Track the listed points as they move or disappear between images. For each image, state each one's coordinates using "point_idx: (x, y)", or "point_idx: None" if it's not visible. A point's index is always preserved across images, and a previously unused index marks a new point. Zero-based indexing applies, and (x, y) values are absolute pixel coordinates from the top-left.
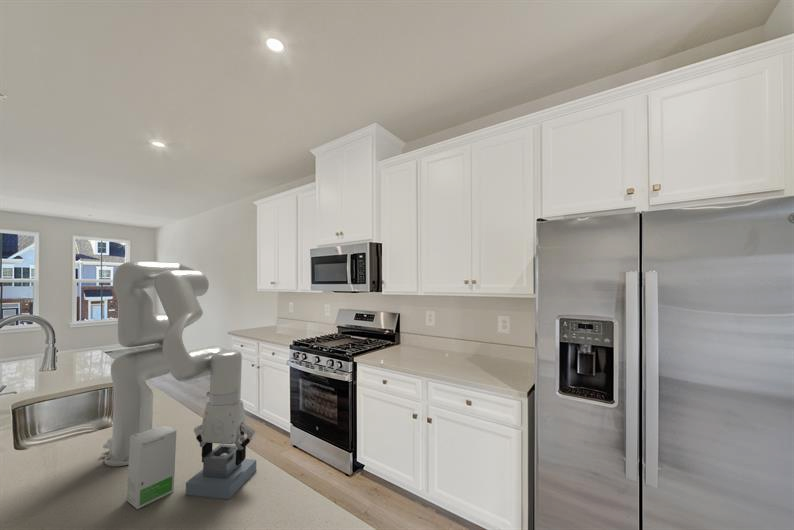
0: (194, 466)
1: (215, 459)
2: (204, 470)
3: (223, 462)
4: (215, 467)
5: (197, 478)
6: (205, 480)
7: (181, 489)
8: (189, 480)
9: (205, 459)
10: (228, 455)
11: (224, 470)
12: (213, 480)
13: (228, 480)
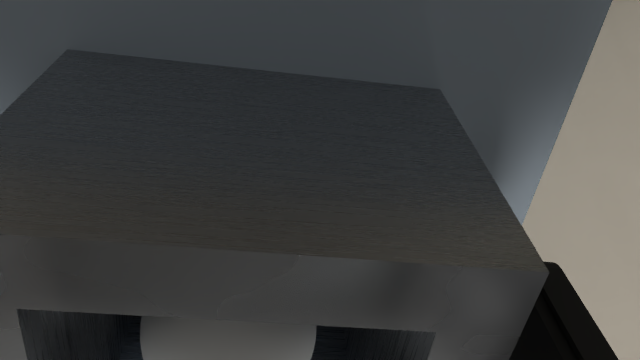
0: (627, 323)
1: (229, 232)
2: (441, 128)
3: (23, 184)
4: (237, 139)
5: (499, 53)
6: (359, 8)
7: (635, 21)
8: (596, 6)
9: (484, 241)
10: (6, 356)
11: (57, 105)
12: (241, 15)
13: (5, 17)
